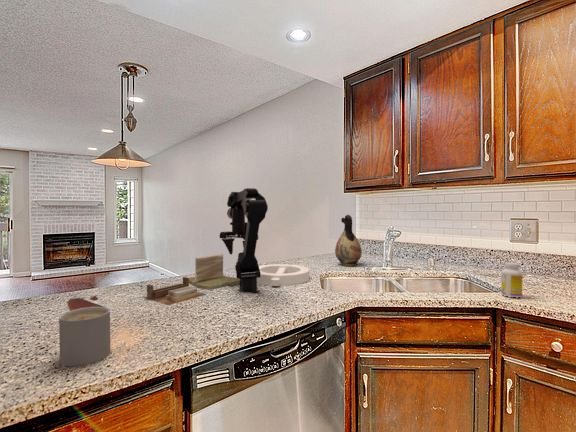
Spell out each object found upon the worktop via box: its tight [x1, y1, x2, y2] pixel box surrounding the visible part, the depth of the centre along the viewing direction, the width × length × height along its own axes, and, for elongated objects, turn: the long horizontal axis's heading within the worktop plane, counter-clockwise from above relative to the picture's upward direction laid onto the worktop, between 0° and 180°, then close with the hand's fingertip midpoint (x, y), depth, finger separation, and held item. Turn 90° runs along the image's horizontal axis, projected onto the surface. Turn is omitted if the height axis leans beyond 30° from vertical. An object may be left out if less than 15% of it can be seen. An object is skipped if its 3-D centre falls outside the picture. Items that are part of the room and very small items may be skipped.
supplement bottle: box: [500, 262, 523, 298], centre depth 126 cm, size 7×7×13 cm
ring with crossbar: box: [252, 263, 310, 287], centre depth 157 cm, size 28×28×5 cm
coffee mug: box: [58, 306, 111, 367], centre depth 77 cm, size 13×10×10 cm
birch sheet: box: [195, 253, 224, 282], centre depth 143 cm, size 1×14×10 cm, turn 141°
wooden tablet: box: [67, 294, 104, 311], centre depth 112 cm, size 27×10×2 cm, turn 37°
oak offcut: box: [166, 291, 200, 303], centre depth 120 cm, size 6×10×2 cm, turn 145°
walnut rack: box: [142, 276, 207, 306], centre depth 122 cm, size 16×17×6 cm
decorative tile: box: [188, 275, 240, 291], centre depth 144 cm, size 19×20×4 cm
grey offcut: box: [168, 285, 198, 297], centre depth 120 cm, size 5×9×2 cm, turn 145°
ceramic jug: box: [334, 214, 363, 267], centre depth 192 cm, size 17×15×30 cm
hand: (238, 255), depth 144 cm, fingers open, 9 cm apart
